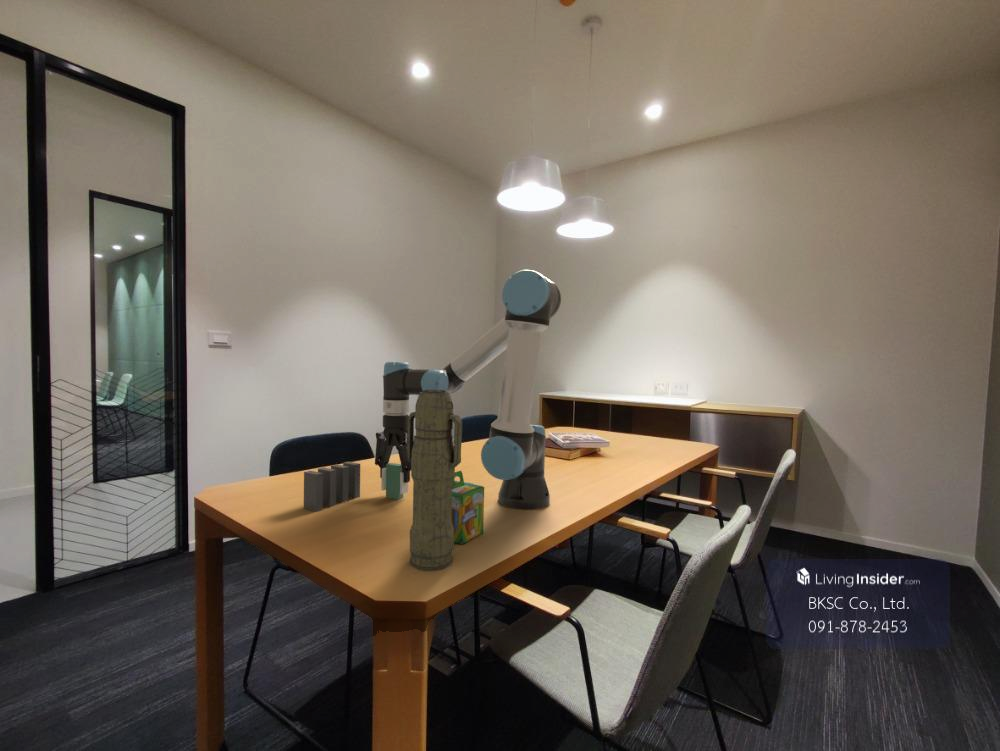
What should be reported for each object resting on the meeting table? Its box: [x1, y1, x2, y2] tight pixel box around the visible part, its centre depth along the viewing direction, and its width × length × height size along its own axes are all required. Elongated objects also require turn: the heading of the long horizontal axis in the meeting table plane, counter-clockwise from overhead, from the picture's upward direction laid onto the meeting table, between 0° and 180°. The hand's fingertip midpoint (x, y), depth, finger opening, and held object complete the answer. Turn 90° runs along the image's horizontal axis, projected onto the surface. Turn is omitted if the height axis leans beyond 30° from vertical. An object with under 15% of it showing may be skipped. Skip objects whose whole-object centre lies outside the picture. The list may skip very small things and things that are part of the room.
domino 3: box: [330, 464, 349, 503], centre depth 129 cm, size 2×5×10 cm, turn 62°
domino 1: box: [303, 470, 323, 513], centre depth 121 cm, size 2×5×10 cm, turn 61°
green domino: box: [385, 462, 404, 501], centre depth 133 cm, size 2×5×10 cm, turn 62°
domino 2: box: [317, 467, 337, 508], centre depth 125 cm, size 2×5×10 cm, turn 62°
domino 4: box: [342, 461, 361, 499], centre depth 133 cm, size 2×5×10 cm, turn 62°
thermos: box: [406, 390, 463, 572], centre depth 91 cm, size 9×12×35 cm
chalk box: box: [452, 470, 485, 545], centre depth 106 cm, size 9×9×15 cm
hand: (394, 491), depth 133 cm, fingers open, 6 cm apart
